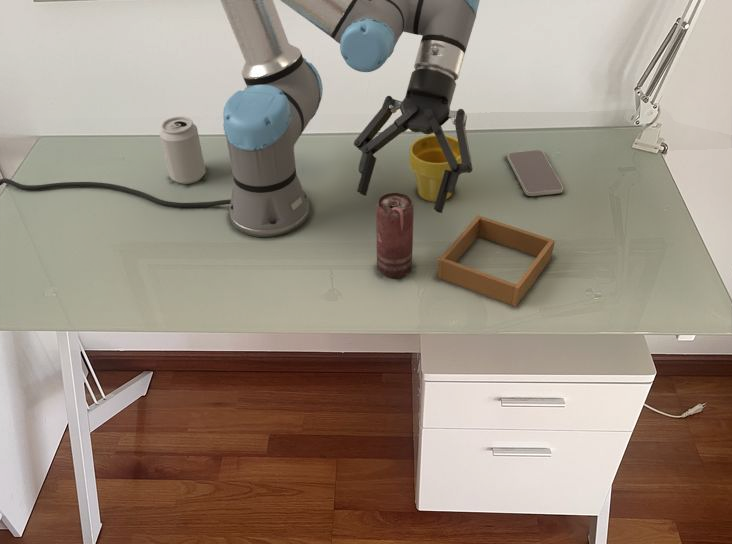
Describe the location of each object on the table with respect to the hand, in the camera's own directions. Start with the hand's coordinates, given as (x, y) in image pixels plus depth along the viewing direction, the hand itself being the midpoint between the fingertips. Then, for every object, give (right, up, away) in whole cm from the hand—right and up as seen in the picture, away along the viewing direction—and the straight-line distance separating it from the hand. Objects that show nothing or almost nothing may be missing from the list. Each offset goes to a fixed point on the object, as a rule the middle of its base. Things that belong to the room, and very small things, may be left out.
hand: (398, 202), depth 125 cm
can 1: (-41, +11, +32) cm, 53 cm away
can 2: (0, -10, +8) cm, 13 cm away
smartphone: (+29, +10, +26) cm, 40 cm away
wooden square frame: (+17, -10, +6) cm, 21 cm away
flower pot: (+9, +6, +23) cm, 26 cm away
